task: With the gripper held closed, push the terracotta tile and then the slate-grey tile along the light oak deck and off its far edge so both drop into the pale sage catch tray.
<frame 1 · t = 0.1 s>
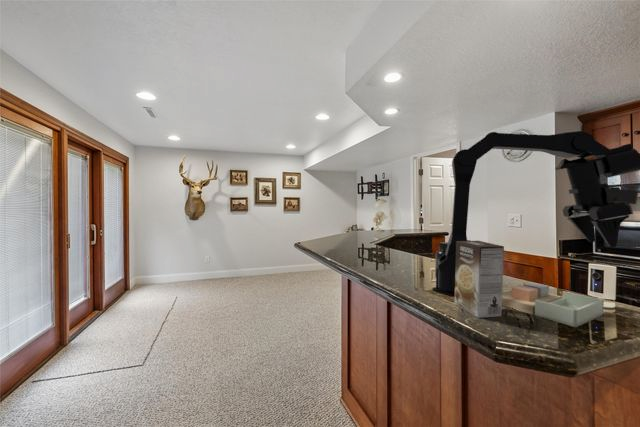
hand: (602, 244, 74), 15 cm above the countertop, tool pointing down, fingers open, 9 cm apart
tray: (568, 315, 68), on the countertop
deck: (527, 303, 76), on the countertop
supplement bottle: (445, 279, 101), on the countertop
tile terracotta: (524, 298, 74), point 2 cm above the countertop, touching deck
tile slate: (535, 294, 77), point 2 cm above the countertop, touching deck
coffee box: (476, 311, 71), on the countertop
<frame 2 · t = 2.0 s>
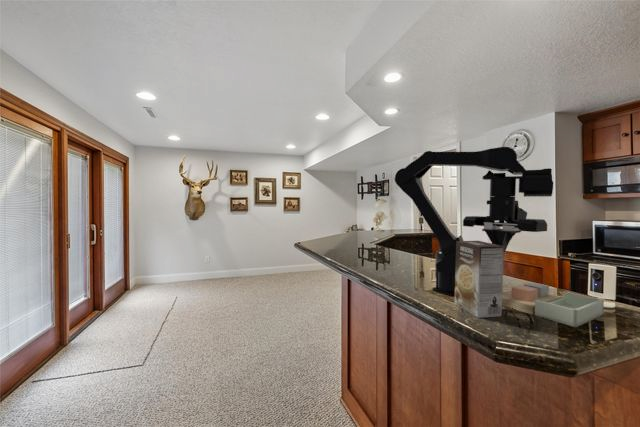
hand: (500, 256, 79), 11 cm above the countertop, tool pointing down, fingers closed
nothing on the countertop moved.
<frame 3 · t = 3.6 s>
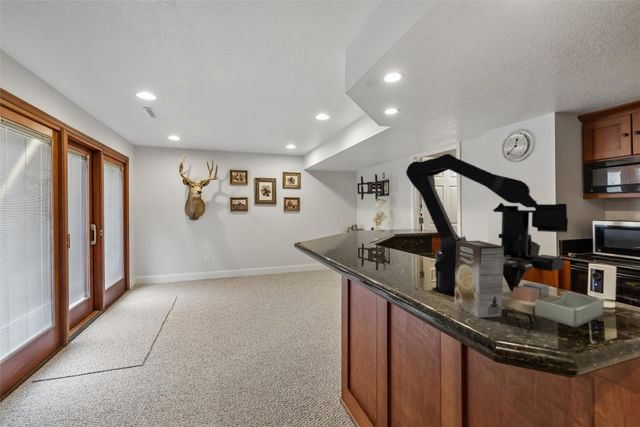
hand: (513, 291, 77), 3 cm above the countertop, tool pointing down, fingers closed
tile terracotta: (526, 298, 74), point 2 cm above the countertop, touching deck, gripper
everything else where it was.
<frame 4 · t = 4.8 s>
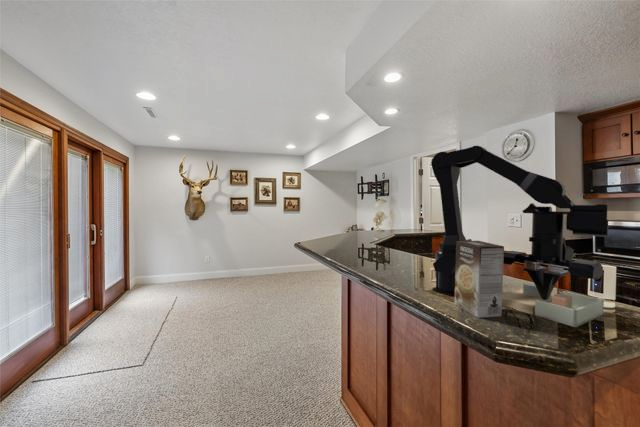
hand: (544, 299, 70), 3 cm above the countertop, tool pointing down, fingers closed
tile terracotta: (555, 303, 69), point 2 cm above the countertop, tilted 90°, touching tray
everything else where it was.
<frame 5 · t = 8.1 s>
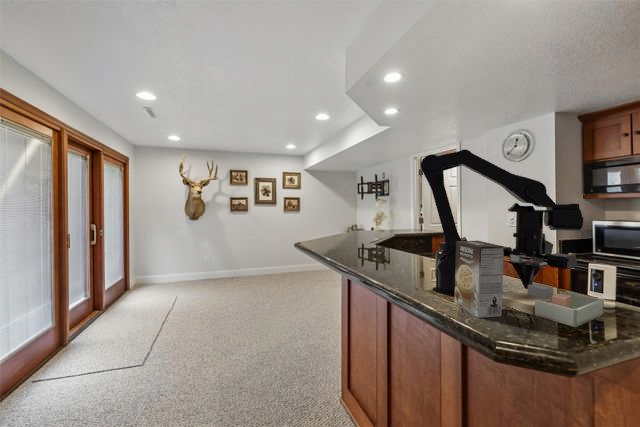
hand: (527, 288, 79), 3 cm above the countertop, tool pointing down, fingers closed
tile slate: (540, 295, 76), point 2 cm above the countertop, touching gripper
everything else where it was.
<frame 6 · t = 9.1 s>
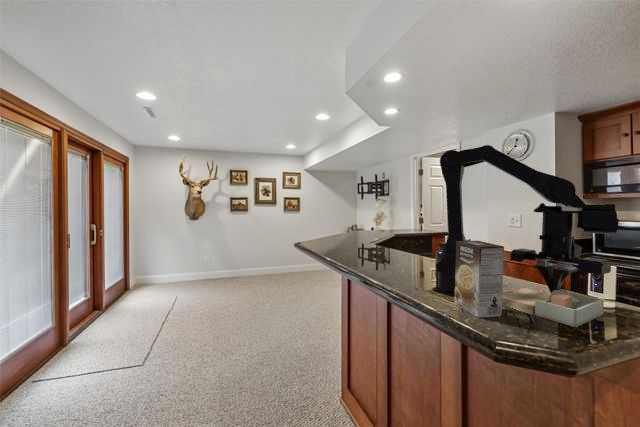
hand: (554, 295, 73), 3 cm above the countertop, tool pointing down, fingers closed
tile terracotta: (555, 303, 69), point 3 cm above the countertop, tilted 90°, touching tile slate, tray
tile slate: (561, 303, 72), point 1 cm above the countertop, tilted 25°, touching gripper, tile terracotta, tray
everything else where it was.
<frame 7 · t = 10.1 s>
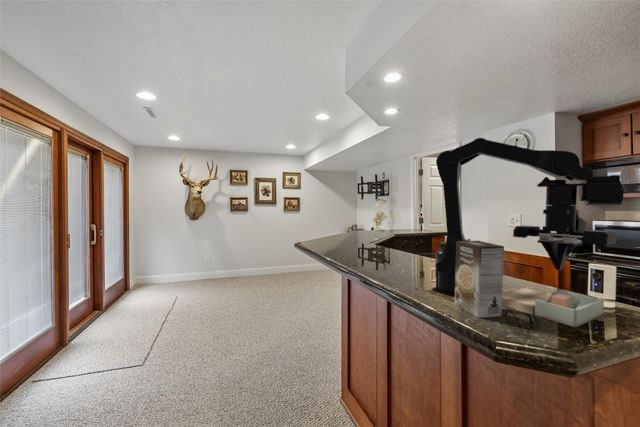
hand: (558, 270, 73), 9 cm above the countertop, tool pointing down, fingers closed
tile terracotta: (555, 303, 69), point 2 cm above the countertop, tilted 90°, touching tray
tile slate: (561, 304, 71), point 1 cm above the countertop, tilted 26°, touching tray
everything else where it was.
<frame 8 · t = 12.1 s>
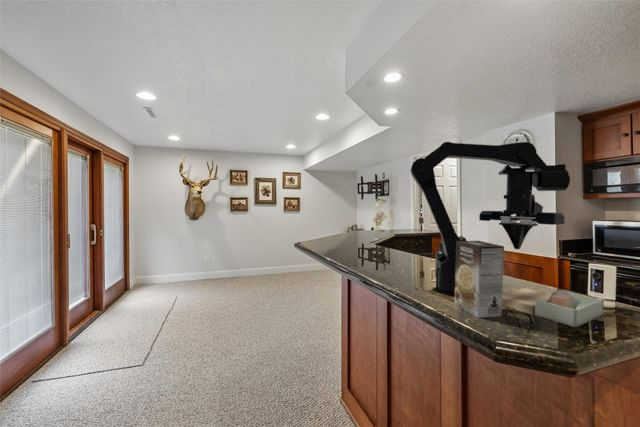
hand: (517, 249, 81), 13 cm above the countertop, tool pointing down, fingers closed
tile terracotta: (555, 303, 69), point 2 cm above the countertop, tilted 90°, touching tile slate, tray
tile slate: (561, 304, 71), point 1 cm above the countertop, tilted 26°, touching tile terracotta, tray
everything else where it was.
at the end: tile terracotta inside the target area on the tray (2.9 cm from its centre), point 2.5 cm above the tray's base; tile slate inside the target area on the tray (3.1 cm from its centre), point 1.4 cm above the tray's base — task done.
